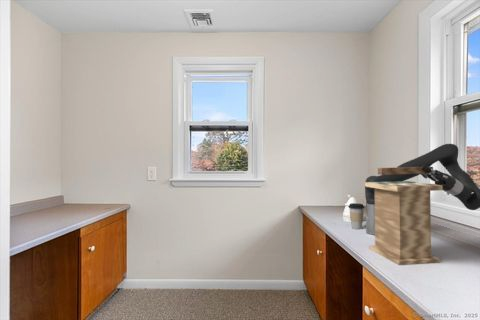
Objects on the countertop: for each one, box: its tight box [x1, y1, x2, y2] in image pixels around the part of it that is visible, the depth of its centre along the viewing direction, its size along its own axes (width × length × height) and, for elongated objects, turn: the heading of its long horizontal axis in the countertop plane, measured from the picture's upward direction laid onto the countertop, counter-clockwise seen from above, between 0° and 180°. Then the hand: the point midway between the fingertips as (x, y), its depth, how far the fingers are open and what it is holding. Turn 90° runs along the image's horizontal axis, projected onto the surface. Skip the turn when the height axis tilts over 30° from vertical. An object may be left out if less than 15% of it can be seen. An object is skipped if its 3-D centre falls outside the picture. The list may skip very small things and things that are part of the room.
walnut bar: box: [377, 166, 434, 176], centre depth 139 cm, size 26×3×3 cm, turn 97°
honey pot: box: [342, 194, 364, 223], centre depth 206 cm, size 13×13×18 cm
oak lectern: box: [364, 180, 443, 266], centre depth 132 cm, size 20×24×32 cm
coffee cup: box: [349, 203, 365, 230], centre depth 184 cm, size 9×9×15 cm
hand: (420, 167), depth 140 cm, fingers closed on walnut bar, 3 cm apart
